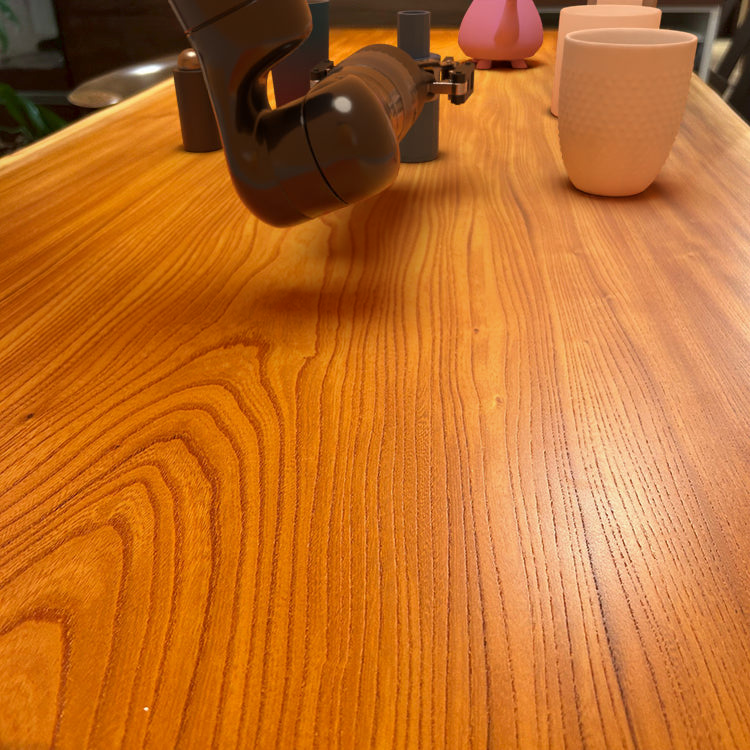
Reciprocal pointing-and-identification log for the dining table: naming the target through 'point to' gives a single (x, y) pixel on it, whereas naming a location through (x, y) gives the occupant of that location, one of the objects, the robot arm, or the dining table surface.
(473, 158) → the dining table surface
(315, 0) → the cup
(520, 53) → the teapot
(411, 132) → the bottle
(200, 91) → the pepper mill
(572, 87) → the mug
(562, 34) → the cup
